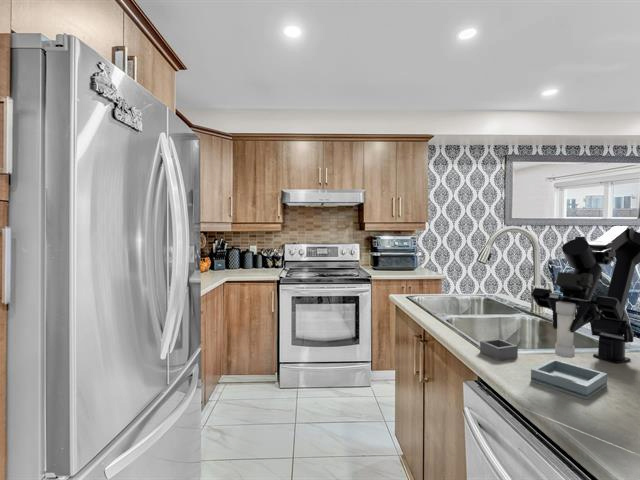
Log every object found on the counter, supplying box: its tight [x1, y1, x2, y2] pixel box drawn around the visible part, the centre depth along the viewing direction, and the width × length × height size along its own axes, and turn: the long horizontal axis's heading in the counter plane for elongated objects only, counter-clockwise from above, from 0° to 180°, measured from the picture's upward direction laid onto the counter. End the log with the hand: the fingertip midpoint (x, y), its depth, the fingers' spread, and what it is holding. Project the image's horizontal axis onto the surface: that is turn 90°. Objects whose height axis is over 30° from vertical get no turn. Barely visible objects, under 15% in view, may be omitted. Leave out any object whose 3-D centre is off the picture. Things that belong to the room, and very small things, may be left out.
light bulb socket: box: [479, 338, 519, 361], centre depth 109 cm, size 7×7×4 cm
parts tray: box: [530, 358, 608, 400], centre depth 89 cm, size 12×12×3 cm
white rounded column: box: [554, 301, 576, 359], centre depth 89 cm, size 4×4×13 cm
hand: (562, 329), depth 88 cm, fingers closed on white rounded column, 3 cm apart
